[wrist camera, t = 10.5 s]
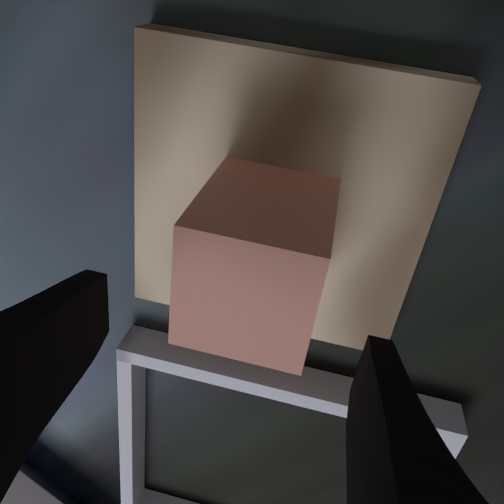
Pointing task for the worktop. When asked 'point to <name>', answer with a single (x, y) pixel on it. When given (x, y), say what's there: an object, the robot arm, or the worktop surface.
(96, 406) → the worktop surface
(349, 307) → the board
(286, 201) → the terracotta block
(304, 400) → the tray
